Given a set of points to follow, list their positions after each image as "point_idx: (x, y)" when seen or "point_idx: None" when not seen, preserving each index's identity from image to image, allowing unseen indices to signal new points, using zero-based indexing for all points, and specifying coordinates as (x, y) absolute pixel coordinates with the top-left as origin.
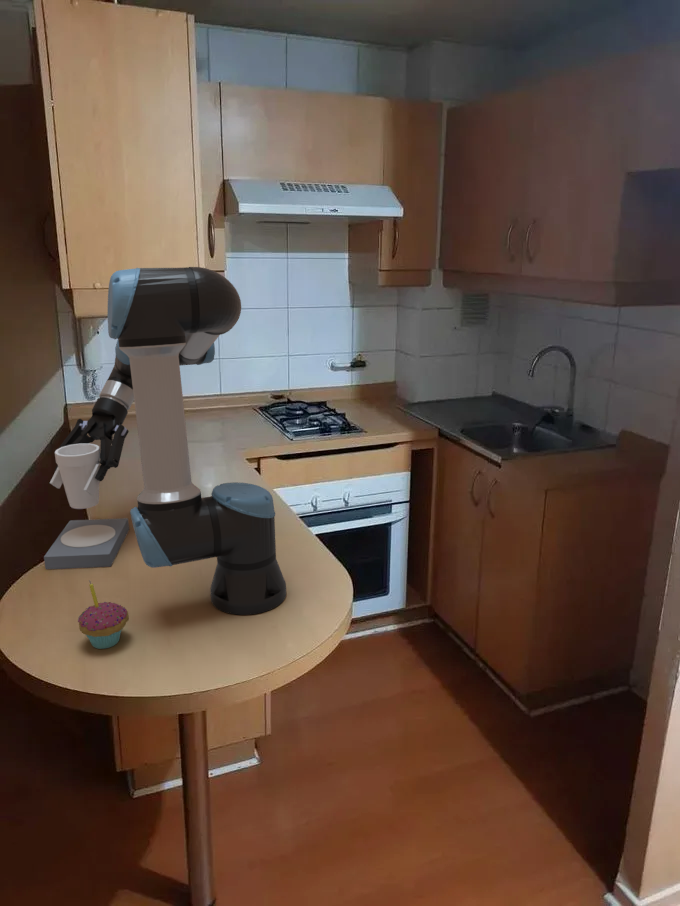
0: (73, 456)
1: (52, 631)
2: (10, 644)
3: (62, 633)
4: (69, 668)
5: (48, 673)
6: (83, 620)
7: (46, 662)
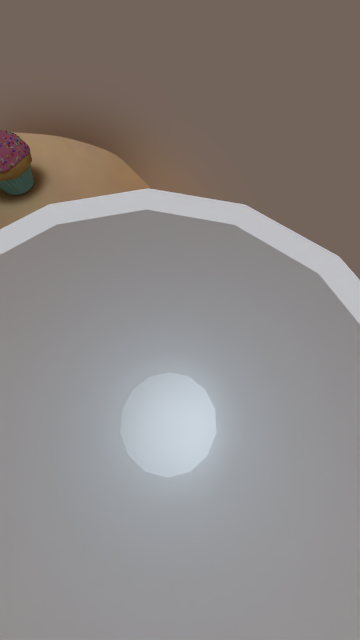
0: (60, 206)
1: (90, 188)
2: (124, 165)
3: (76, 187)
4: (40, 148)
5: (58, 141)
6: (11, 133)
7: (68, 151)
